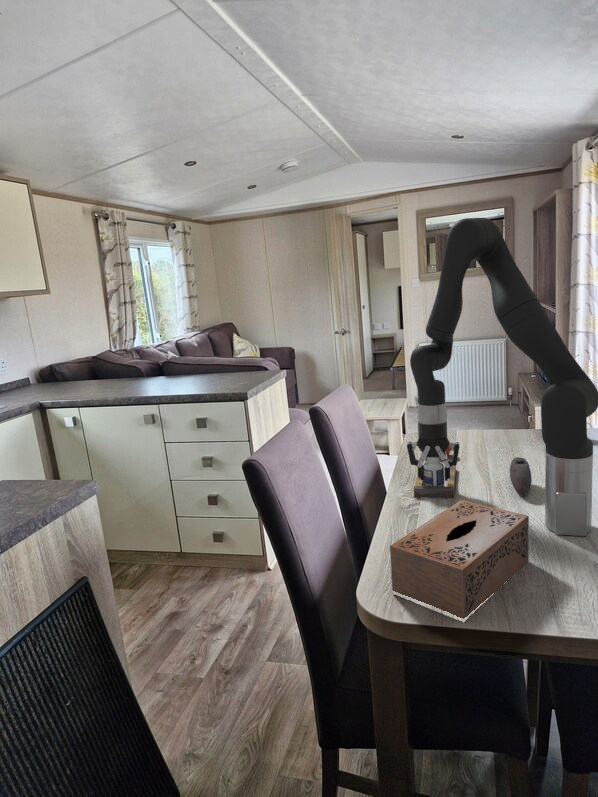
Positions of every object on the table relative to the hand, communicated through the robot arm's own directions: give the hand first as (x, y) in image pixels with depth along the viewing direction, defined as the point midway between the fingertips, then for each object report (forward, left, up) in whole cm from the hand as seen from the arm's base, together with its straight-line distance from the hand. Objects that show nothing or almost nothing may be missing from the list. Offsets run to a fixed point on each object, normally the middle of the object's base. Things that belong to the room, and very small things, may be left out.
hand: (434, 479), depth 149 cm
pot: (+29, 0, -3) cm, 30 cm away
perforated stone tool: (+2, -22, -3) cm, 22 cm away
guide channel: (+5, 0, -3) cm, 6 cm away
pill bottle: (0, 0, -3) cm, 3 cm away
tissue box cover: (-45, -8, -4) cm, 46 cm away
